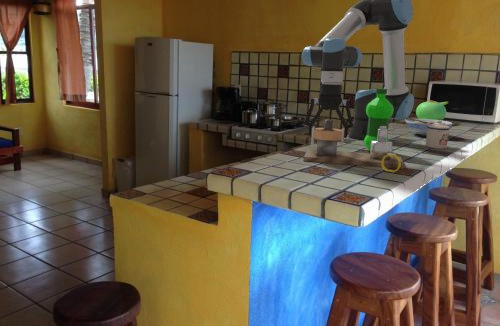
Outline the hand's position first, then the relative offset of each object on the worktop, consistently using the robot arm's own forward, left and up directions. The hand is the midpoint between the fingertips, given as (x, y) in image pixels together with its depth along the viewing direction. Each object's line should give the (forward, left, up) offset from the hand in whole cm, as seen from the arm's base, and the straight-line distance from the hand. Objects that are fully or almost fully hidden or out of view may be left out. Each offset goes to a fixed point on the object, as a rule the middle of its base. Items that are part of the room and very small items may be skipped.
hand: (327, 145), depth 159 cm
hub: (+13, +13, -3) cm, 19 cm away
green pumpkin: (-57, +140, -5) cm, 151 cm away
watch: (+25, +6, -5) cm, 26 cm away
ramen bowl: (-22, +89, -5) cm, 92 cm away
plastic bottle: (-2, +29, -5) cm, 29 cm away
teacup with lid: (+1, +64, -5) cm, 64 cm away
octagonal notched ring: (0, 0, +3) cm, 3 cm away
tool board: (+7, +7, -5) cm, 11 cm away
